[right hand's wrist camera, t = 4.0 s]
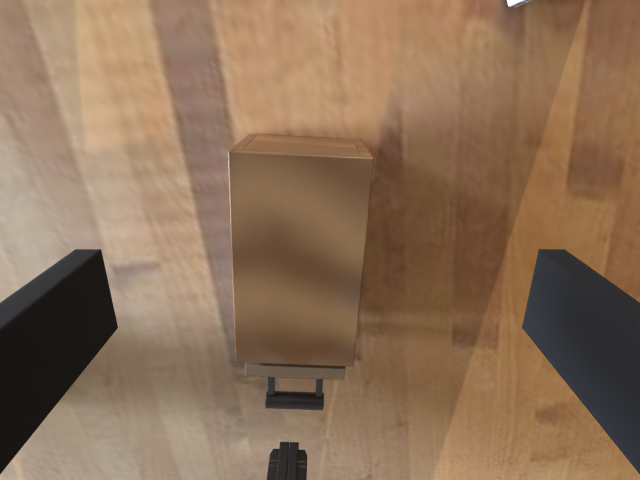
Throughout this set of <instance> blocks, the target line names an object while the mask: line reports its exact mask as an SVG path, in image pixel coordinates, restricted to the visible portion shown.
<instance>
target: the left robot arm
mask: <svg viewBox="0 0 640 480" xmlns="http://www.w3.org/2000/svg"><path fill="white" fill-rule="evenodd" d="M298 447H299V443H298V442H290V447H289V442H280V449H273V450H272V452H271V454H270V459H269V467H268V474H267V480H306V475H307V454H306V452H305V450H298Z"/></svg>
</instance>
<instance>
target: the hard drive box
mask: <svg viewBox="0 0 640 480" xmlns="http://www.w3.org/2000/svg"><path fill="white" fill-rule="evenodd" d="M529 1H532V0H507V3H508V6H509V7H512V6H513V7H514V8H515V7H518V6H520V5H522V4H524V3H527V2H529Z"/></svg>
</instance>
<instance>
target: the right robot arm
mask: <svg viewBox="0 0 640 480" xmlns="http://www.w3.org/2000/svg"><path fill="white" fill-rule="evenodd" d="M117 328H118V326H117V321H116V317H115V312H114V307H113V303H112V298H111V293H110V289H109V284H108V280H107V275H106V270H105V266H104V261H103V256H102V252H101V250H74V251H73V252H71V253H70V254H68V255H67V256H66V257H64V258H63V259H61V260H60V261H59V262H57V263H56V264H54V265H53V266H52V267H50V268H49V269H47V270H46V271H44V272H43V273H42V274H40V275H39V276H37V277H36V278H35V279H33V280H32V281H30V282H29V283H28V284H26V285H25V286H23V287H22V288H21V289H19V290H18V291H16V292H15V293H13V294H12V295H11V296H9V297H8V298H6V299H5V300H4V301H2V302H1V303H0V474H1V473H2V471H3V470H4V469H5V468H6V466H7V465H8V464H9V463H10V461H11V460H12V459H13V458H14V456H15V455H16V454H17V453H18V451H19V450H20V449H21V448H22V446H23V445H24V444H25V443H26V441H27V440H28V439H29V438H30V436H31V435H32V434H33V433H34V431H35V430H36V429H37V428H38V426H39V425H40V424H41V423H42V421H43V420H44V419H45V418H46V416H47V415H48V414H49V413H50V412H51V410H52V409H53V408H54V407H55V405H56V404H57V403H58V402H59V400H60V399H61V398H62V397H63V395H64V394H65V393H66V392H67V390H68V389H69V388H70V387H71V385H72V384H73V383H74V382H75V380H76V379H77V378H78V377H79V375H80V374H81V373H82V372H83V370H84V369H85V368H86V367H87V365H88V364H89V363H90V362H91V360H92V359H93V358H94V357H95V355H96V354H97V353H98V352H99V350H100V349H101V348H102V347H103V346H104V344H105V343H106V342H107V341H108V339H109V338H110V337H111V336H112V334H113V333H114V332H115V331H116V329H117ZM522 328H523V329H524V331H525V332H526V333H527V334H528V336H529V337H530V338H531V339H532V341H533V342H534V343H535V344H536V346H537V347H538V348H539V349H540V350H541V352H542V353H543V354H544V355H545V357H546V358H547V359H548V360H549V362H550V363H551V364H552V365H553V367H554V368H555V369H556V370H557V372H558V373H559V374H560V375H561V377H562V378H563V379H564V380H565V382H566V383H567V384H568V385H569V387H570V388H571V389H572V390H573V392H574V393H575V394H576V395H577V397H578V398H579V399H580V400H581V402H582V403H583V404H584V405H585V407H586V408H587V409H588V410H589V412H590V413H591V414H592V415H593V416H594V418H595V419H596V420H597V421H598V423H599V424H600V425H601V426H602V428H603V429H604V430H605V431H606V433H607V434H608V435H609V436H610V438H611V439H612V440H613V441H614V443H615V444H616V445H617V446H618V448H619V449H620V450H621V451H622V453H623V454H624V455H625V456H626V458H627V459H628V460H629V461H630V463H631V464H632V465H633V466H634V468H635V469H636V470H637V471H638V473H639V474H640V303H639V302H638V301H636V300H635V299H634V298H632V297H631V296H629V295H628V294H626V293H625V292H624V291H622V290H621V289H619V288H618V287H617V286H615V285H614V284H612V283H611V282H610V281H608V280H607V279H605V278H604V277H603V276H601V275H600V274H598V273H597V272H596V271H594V270H593V269H591V268H590V267H588V266H587V265H586V264H584V263H583V262H581V261H580V260H579V259H577V258H576V257H574V256H573V255H572V254H570V253H569V252H567V251H566V250H539V252H538V256H537V261H536V266H535V270H534V275H533V280H532V284H531V289H530V293H529V298H528V303H527V307H526V312H525V317H524V321H523V326H522Z"/></svg>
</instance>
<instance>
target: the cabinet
mask: <svg viewBox="0 0 640 480" xmlns="http://www.w3.org/2000/svg"><path fill="white" fill-rule="evenodd" d="M373 162H374V158H373V157H372V155H371V154H370V152H369V150H368V149H367V147H366V146H365V144H364V143H363V141H362V140H361V139H342V138H322V137H301V136H281V135H260V134H248V135H247V136H246V137H245V138H244V139H242V140H241V141H240V142H239V143H238V144H237V145H235V146H234V147H233V148H232V149H231V150H230V151H229V152H228V164H229V191H230V219H231V246H232V274H233V301H234V329H235V356H236V362H247V363H273V364H299V365H325V366H351V367H353V366H354V358H355V348H356V337H357V327H358V317H359V306H360V296H361V286H362V276H363V265H364V255H365V245H366V234H367V224H368V214H369V204H370V193H371V183H372V173H373Z"/></svg>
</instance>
